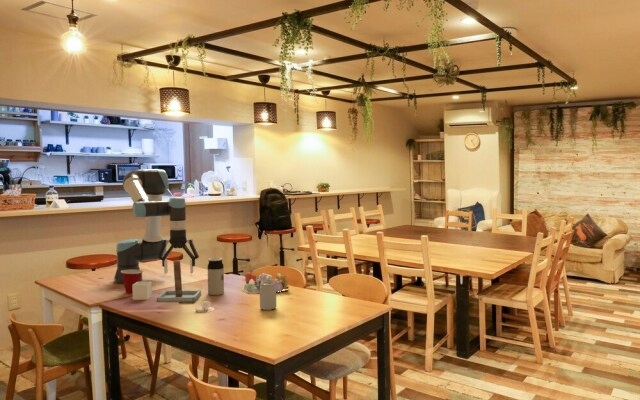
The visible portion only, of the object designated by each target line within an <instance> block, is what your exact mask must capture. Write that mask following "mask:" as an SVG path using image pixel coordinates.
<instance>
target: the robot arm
mask: <svg viewBox="0 0 640 400" xmlns="http://www.w3.org/2000/svg"><path fill="white" fill-rule="evenodd" d="M169 183H170V182H169V178H168V174H167V172H166V170H164V169H160V168H159V169H157V168H154V169H153V168H152V169H151V168H150V169H147V168H146V169H140V168H139V169H134V170H131V171H129V172H128V173H127V174H126V175H125V176H124V177H123V180H122V187H123V189H124V191H125V192H126V193H128V194H129V197H130V198H131V200H132V202H133V204H132V215H133V216H134V217H135V218H145V227H144V229H145V231H144V233H145V234H144V235H143V236H142V237H141V238H142V239H141V240H139V239H138V238H130V239H124V240H121V241H119V242H117V244H116V271H115V273H114V278H113V282H114V284H115V283H116V284H124V281H123V277H122V273H121V271H122V270H141V269H140V262H149V261H157V260H161V263H162V264H161V267H164V269H163V271H164V274H165V275H167V273H169V272H168V259H167V257H168V256H169V255H170V254H171V252H172V250H173V249H182V250H184V251H185V253H186V254H187V255H188V257H190V261H189V263H190V264H189V267H190V268H189V271H190V274H193V273H194V267H195V266H196V259H197V260H198V259H199V256H200V255H199V254H198V252H197V250H196V247H195V244H194V240H193V239H192V238H191V239H187V230H186V228H187V223H186V222H187V221H186V220H187V219H186V218H187V217H186V213H187V212H186V206H187V205H186V204H187V203H186V199H185V197H183V196H181V197H180V196H178V197H176V196H175V197H170V198H169V199H167V200H163V196H164V195H165V194H166V191H168V190H169V186H170V185H169ZM166 216H169V229H170V230H169V239H167V238H165V239H164V237H163V235H162V217H166ZM168 244H170V247H169V248H168V250H167V245H168ZM187 244H189V247H190V249H191V250H190V249H189V248H188V246H187ZM142 281H143V274H142V275H141V280H140V282H142Z"/></svg>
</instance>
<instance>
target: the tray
mask: <svg viewBox="0 0 640 400" xmlns="http://www.w3.org/2000/svg"><path fill="white" fill-rule="evenodd" d="M201 296H202V290H199V289H198V290H196V289H195V290H191V289H190V290H183V289H182V297H176V296H175V290H164V291H163V292H161V293H160V294H159V295H158V296H157V297H156V302H178V304H180V303H181V304H182V303H185V304H187V303H189V304H191V303H193V304H194V303H195V302H197V300H198V299H199V298H200V297H201Z"/></svg>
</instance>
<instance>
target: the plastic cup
mask: <svg viewBox="0 0 640 400" xmlns="http://www.w3.org/2000/svg"><path fill="white" fill-rule="evenodd" d="M121 273H122V277H123V281H124V283H123V286H124V289H125V293H126V294H130V295H131V294H132V295H133V289H132V285H133V284H135V283H136V282H141V281H142V280H141V275H142V276H143V273H144V271H143V270H141V269H140V270H122V271H121ZM140 280H141V281H140Z"/></svg>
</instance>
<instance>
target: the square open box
mask: <svg viewBox="0 0 640 400" xmlns="http://www.w3.org/2000/svg"><path fill="white" fill-rule="evenodd" d="M152 282H153V281H140V282H136V283H135V284H133V285H132V289H133V293H132V300H133V301H137V300H138V301H139V300H140V301H141V300H143V301H144V300H145V301H147V300H149V299H150V298H152V297H153V289H152V288H153V283H152Z"/></svg>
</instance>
